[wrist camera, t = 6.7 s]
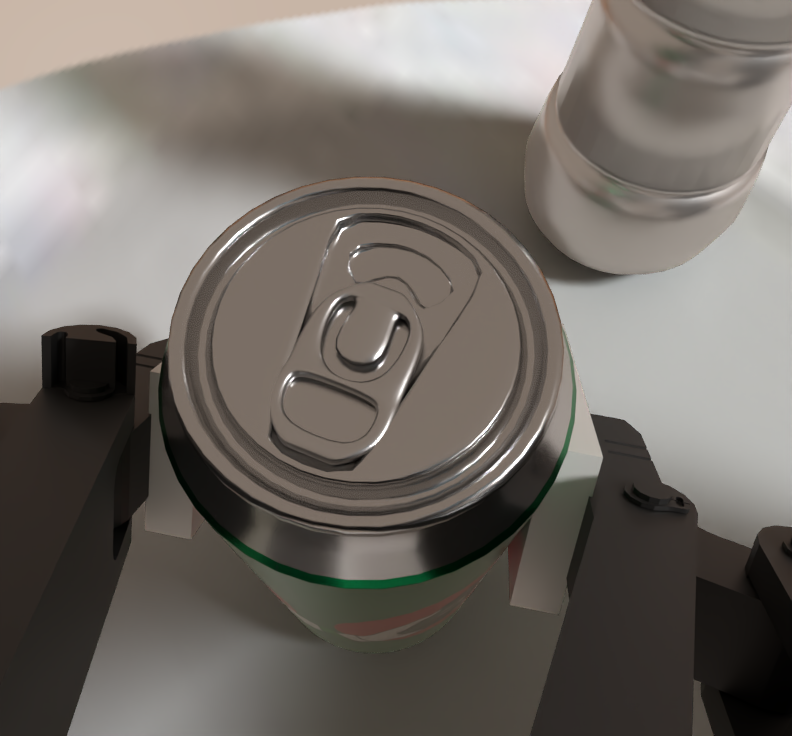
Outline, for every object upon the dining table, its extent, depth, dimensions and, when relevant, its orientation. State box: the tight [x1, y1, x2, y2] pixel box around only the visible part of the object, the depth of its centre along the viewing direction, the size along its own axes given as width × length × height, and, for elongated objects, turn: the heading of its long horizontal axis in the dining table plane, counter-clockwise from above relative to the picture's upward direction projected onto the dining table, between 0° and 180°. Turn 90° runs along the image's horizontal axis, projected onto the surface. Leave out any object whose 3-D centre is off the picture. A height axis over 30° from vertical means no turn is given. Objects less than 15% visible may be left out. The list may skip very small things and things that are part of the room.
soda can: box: [158, 177, 577, 653], centre depth 14 cm, size 5×5×12 cm
